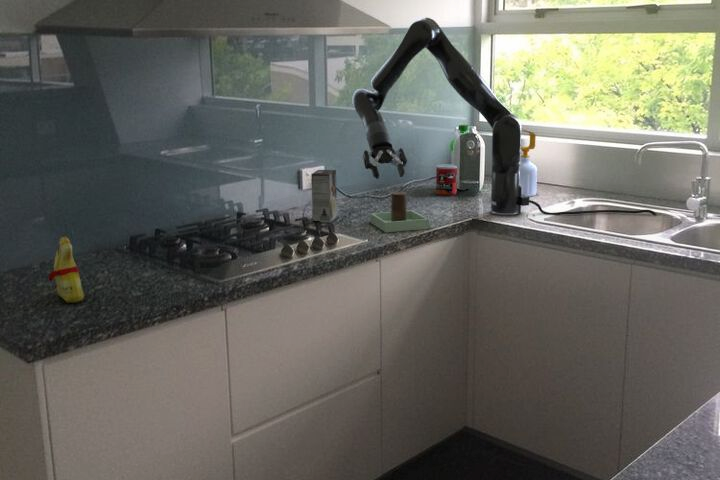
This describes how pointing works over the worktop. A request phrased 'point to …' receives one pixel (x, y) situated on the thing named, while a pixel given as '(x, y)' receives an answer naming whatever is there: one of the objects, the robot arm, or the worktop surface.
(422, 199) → the worktop surface
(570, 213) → the robot arm
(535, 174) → the soap bottle
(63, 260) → the chocolate bunny
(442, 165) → the canned food
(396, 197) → the pepper mill
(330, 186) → the coffee box
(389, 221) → the tray
